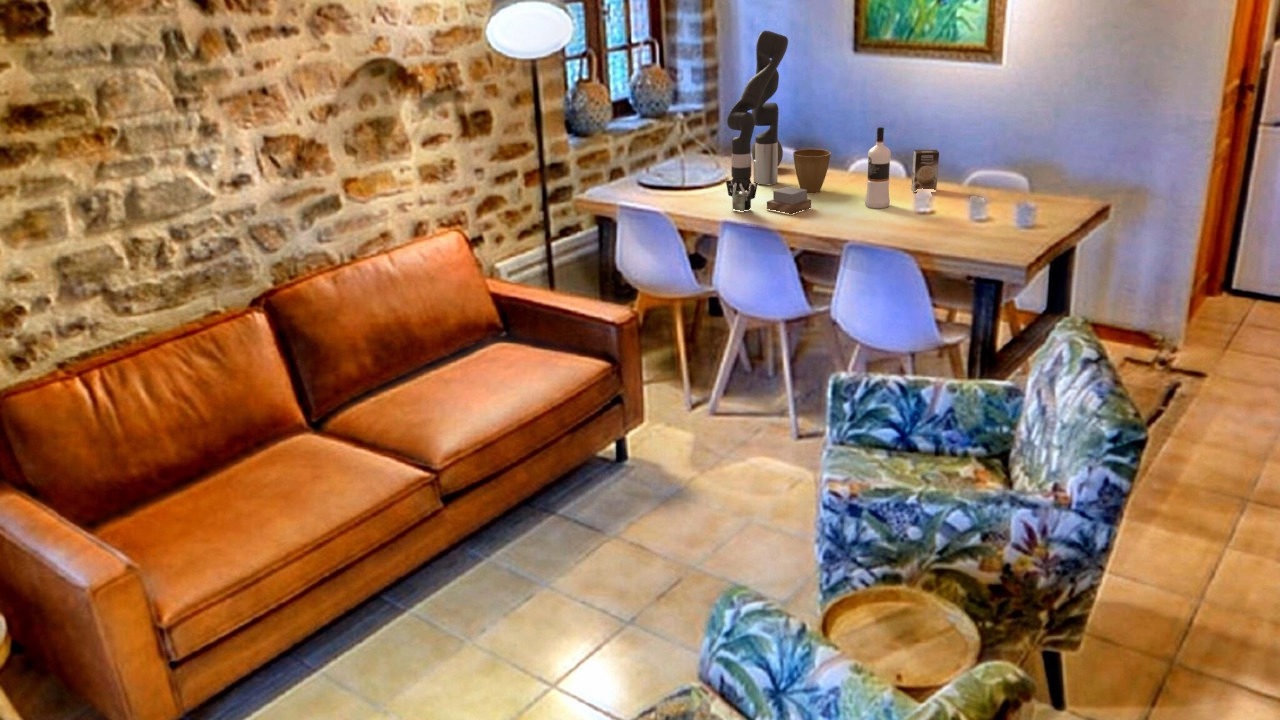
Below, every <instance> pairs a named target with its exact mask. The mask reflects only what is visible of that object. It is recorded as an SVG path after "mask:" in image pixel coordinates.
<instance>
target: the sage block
mask: <svg viewBox="0 0 1280 720" xmlns="http://www.w3.org/2000/svg"><path fill="white" fill-rule="evenodd" d="M747 197H748V196H747ZM731 198H732V210H733V209H735V210H740V211H744V210H745V197H744V195H743V194H742V192H739V194H736V195H733V196H732V197H731ZM750 208H751V209H752V206H751V207H750Z"/></svg>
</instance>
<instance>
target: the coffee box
mask: <svg viewBox="0 0 1280 720" xmlns="http://www.w3.org/2000/svg"><path fill="white" fill-rule="evenodd" d="M912 158H913V159H912V160H913V161H912V175H911V185H910V186H911V188H910V189H911V191H912V193H913V192H914V191H916V190H917V189H922V188H923V189H934V190H936V191H937V189H938V188H937V186H938V172H939V161H940V152H939V150H937V149H914V151H913V157H912Z"/></svg>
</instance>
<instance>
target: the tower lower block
mask: <svg viewBox="0 0 1280 720" xmlns="http://www.w3.org/2000/svg"><path fill="white" fill-rule="evenodd" d="M809 208H811V209H812V199H810V198H807V200H806V201H802V202H799V203H796V204H793V205H790V204H785V203H780V202H775V201H773V199H770V200H767V201H766V210H767V209H770V210H776V211H780V212H785V213H789V214H793V213H796V212H799V211H802V210H806V209H809ZM809 210H810V209H809ZM806 211H807V210H806Z"/></svg>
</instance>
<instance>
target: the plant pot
mask: <svg viewBox="0 0 1280 720" xmlns="http://www.w3.org/2000/svg"><path fill="white" fill-rule="evenodd" d="M792 153H793V154H792V155H793V164H794V170H795V174H796V179H797V182H798V185H799V188H800V189H805V190H807V194H808V193H813V194H819V193H820V191H821V189H822V187H823V184H824V183H825V179H826V176H827V172H828V169H829V163H830V160H831V155H832V153H831V151H829V150H826V149H821V148H820V149H819V148H818V149H817V148H805V149H804V148H803V149H798V150H794V151H793V152H792ZM818 192H819V193H818Z"/></svg>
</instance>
